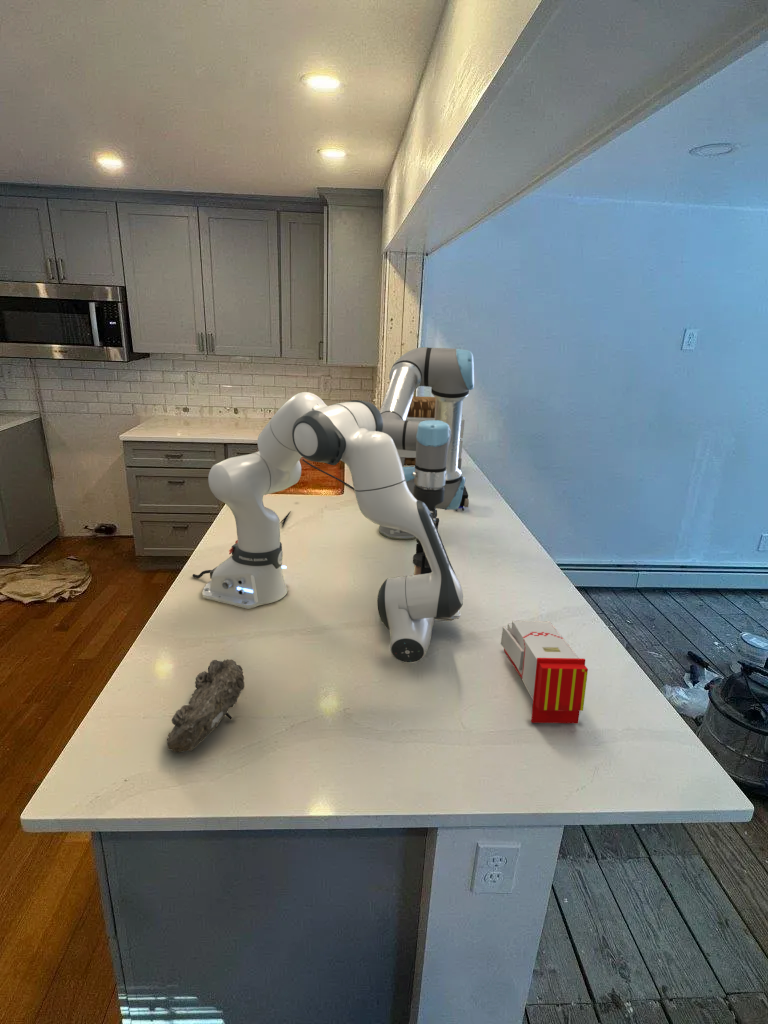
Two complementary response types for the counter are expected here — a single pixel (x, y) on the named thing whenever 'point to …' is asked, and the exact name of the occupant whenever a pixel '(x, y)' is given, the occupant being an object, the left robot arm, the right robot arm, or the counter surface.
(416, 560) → the lid
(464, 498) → the figurine character
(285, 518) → the feather
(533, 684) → the toy
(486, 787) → the counter surface
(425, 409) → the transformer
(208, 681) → the fossil
